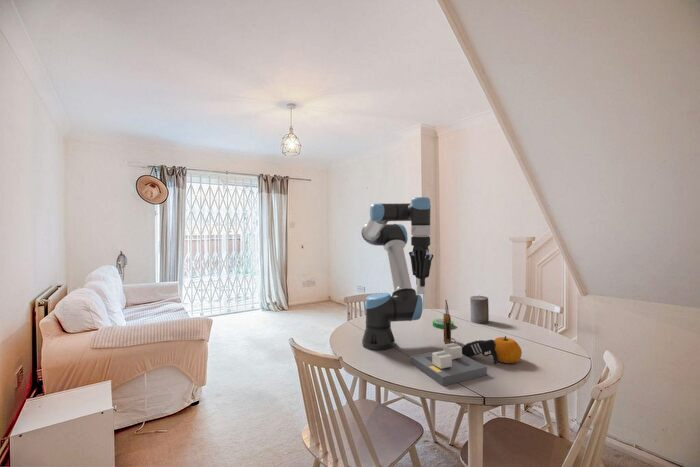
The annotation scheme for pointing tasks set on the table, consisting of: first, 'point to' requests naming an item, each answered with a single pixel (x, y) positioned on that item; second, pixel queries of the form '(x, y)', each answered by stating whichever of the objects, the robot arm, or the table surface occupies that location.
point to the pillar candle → (479, 309)
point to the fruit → (507, 350)
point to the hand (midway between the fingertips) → (420, 293)
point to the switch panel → (449, 368)
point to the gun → (480, 348)
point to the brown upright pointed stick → (448, 327)
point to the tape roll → (441, 323)
